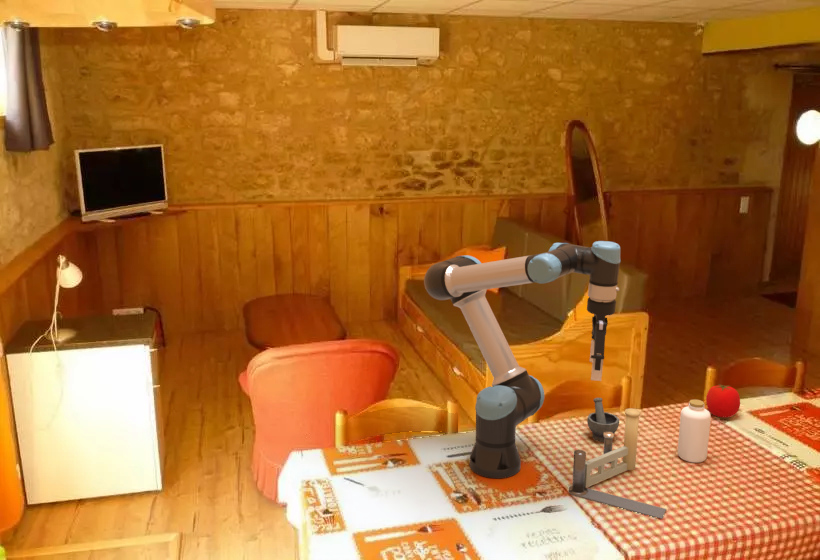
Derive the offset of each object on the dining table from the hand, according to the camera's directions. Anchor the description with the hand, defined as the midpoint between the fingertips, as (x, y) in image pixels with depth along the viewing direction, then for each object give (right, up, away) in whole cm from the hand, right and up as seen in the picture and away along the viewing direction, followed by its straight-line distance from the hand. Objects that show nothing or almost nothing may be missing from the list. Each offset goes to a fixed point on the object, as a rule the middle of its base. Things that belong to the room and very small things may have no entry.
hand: (595, 370), depth 200 cm
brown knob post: (-5, -33, -2) cm, 34 cm away
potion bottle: (+33, -28, +16) cm, 47 cm away
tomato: (+55, -21, +44) cm, 73 cm away
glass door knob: (+7, -29, +15) cm, 33 cm away
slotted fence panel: (+5, -31, +4) cm, 31 cm away
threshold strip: (+4, -35, -8) cm, 36 cm away
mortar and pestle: (+10, -25, +29) cm, 40 cm away
